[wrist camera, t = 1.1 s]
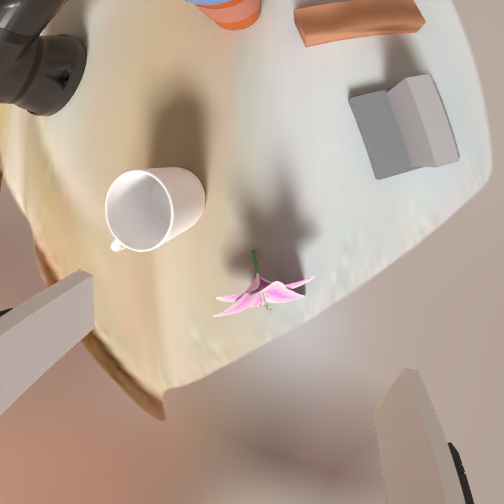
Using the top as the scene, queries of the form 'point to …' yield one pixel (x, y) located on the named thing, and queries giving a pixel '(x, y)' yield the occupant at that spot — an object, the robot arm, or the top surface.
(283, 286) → the lily
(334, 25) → the batten
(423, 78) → the ridge stand
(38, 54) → the robot arm
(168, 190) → the cup
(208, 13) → the cup with straw
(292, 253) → the top surface
